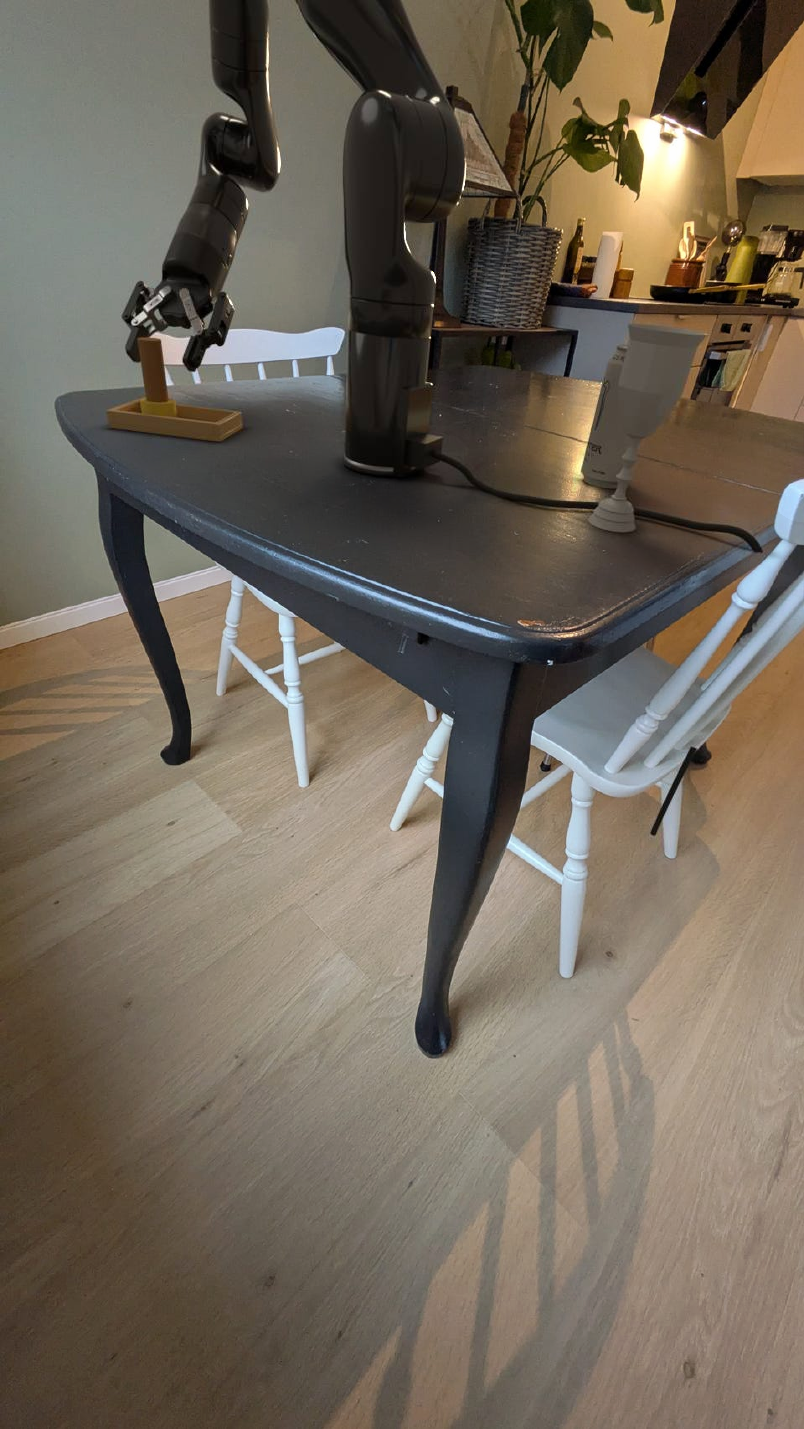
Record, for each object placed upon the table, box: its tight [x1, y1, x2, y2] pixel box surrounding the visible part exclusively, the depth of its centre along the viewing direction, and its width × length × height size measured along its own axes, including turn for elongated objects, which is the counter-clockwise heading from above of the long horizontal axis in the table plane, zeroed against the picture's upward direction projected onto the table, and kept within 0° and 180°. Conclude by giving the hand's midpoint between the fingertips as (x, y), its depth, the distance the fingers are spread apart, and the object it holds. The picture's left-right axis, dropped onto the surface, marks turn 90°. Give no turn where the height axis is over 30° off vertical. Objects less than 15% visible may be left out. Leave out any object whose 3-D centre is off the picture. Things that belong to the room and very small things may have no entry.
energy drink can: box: [580, 344, 630, 489], centre depth 76 cm, size 6×6×15 cm
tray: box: [106, 398, 243, 443], centre depth 84 cm, size 15×8×2 cm, turn 81°
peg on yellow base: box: [137, 337, 177, 418], centre depth 82 cm, size 4×4×10 cm
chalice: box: [587, 323, 708, 533], centre depth 62 cm, size 7×7×18 cm
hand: (159, 362), depth 82 cm, fingers open, 8 cm apart
